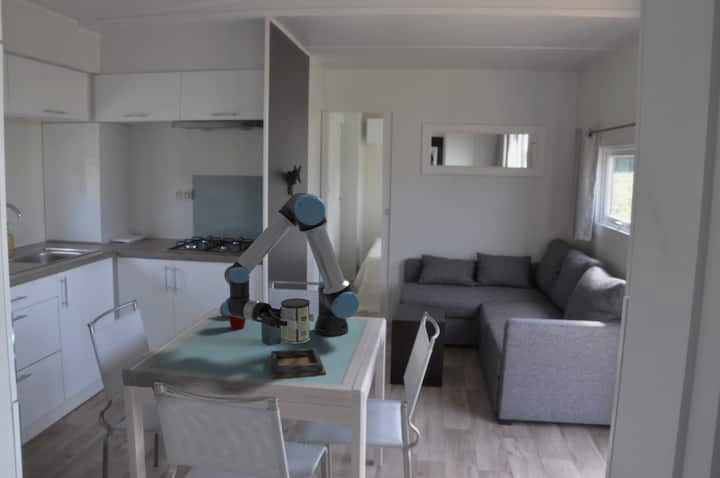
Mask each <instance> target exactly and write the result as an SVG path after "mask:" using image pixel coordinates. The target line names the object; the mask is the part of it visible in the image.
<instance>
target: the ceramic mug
mask: <svg viewBox="0 0 720 478" xmlns="http://www.w3.org/2000/svg"><path fill="white" fill-rule="evenodd" d="M224 305H225V301H223V302H222V303H221V305H220V307H219V313H220V316H222V317H225V318H229V316H228V314H226V312H225V310H224Z"/></svg>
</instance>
